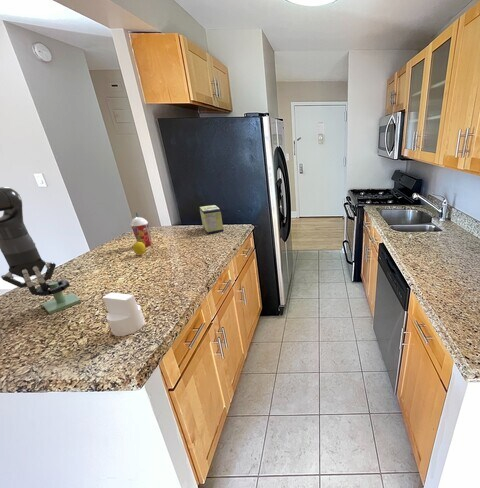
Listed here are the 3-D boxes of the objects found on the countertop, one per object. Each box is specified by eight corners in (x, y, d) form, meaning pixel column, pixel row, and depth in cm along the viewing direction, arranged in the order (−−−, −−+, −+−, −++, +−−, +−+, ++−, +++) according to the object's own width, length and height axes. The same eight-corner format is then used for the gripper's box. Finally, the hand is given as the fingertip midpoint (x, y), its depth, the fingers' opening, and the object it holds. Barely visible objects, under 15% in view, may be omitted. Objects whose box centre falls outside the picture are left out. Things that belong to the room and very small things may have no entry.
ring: (41, 298, 90) (39, 294, 90) (34, 291, 94) (32, 287, 94) (72, 287, 97) (71, 283, 96) (65, 281, 101) (63, 277, 100)
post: (49, 314, 93) (39, 292, 89) (42, 306, 97) (32, 285, 94) (81, 302, 100) (72, 281, 96) (73, 295, 104) (64, 275, 101)
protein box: (218, 225, 188) (214, 204, 182) (224, 231, 176) (220, 209, 170) (202, 228, 182) (198, 206, 176) (207, 234, 170) (203, 211, 165)
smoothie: (156, 242, 157) (148, 210, 150) (149, 248, 149) (139, 214, 142) (142, 243, 157) (133, 210, 149) (133, 248, 149) (123, 214, 141)
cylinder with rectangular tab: (105, 334, 83) (92, 302, 79) (129, 316, 91) (119, 287, 87) (129, 337, 82) (117, 306, 77) (151, 319, 90) (142, 290, 85)
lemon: (132, 256, 138) (128, 242, 135) (141, 252, 143) (137, 239, 140) (141, 257, 137) (136, 243, 134) (149, 253, 142) (146, 240, 139)
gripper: (44, 240, 94) (62, 282, 100) (-15, 253, 83) (10, 299, 89) (50, 244, 90) (69, 287, 96) (-11, 258, 79) (15, 306, 86)
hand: (40, 293), depth 93 cm, fingers closed on ring
